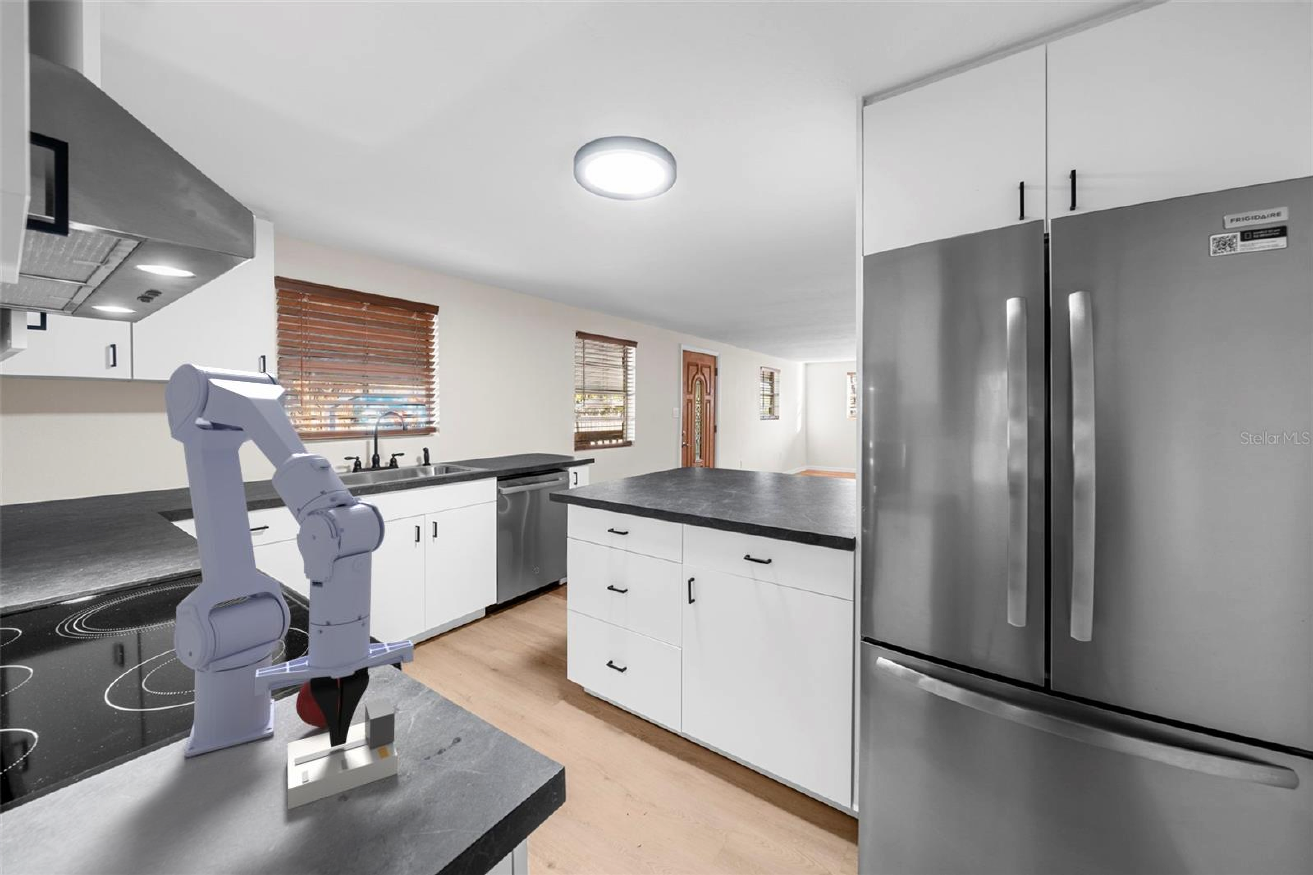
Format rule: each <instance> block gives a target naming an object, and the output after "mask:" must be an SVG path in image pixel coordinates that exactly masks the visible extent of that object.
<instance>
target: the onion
mask: <svg viewBox="0 0 1313 875" xmlns="http://www.w3.org/2000/svg"><path fill="white" fill-rule="evenodd" d="M337 679H338V687H339V678H337ZM295 702H296V703H295V709H296V713H297V715H298V717H299V718H300V719H301V721H303V723H305V724H307V725H309V726H313V727H317V728H320V729H325V728H328V726H327V724H326V721H325V718H324V716H323V714H322V712H321V710H320V708H319V707H318V705H317V704H316V702H315V701H314V699H313V697H312V695H311V689H310V682H306V683H302V685H301V687H300V689H299V691H298V694H297V698H296V701H295ZM338 712H339V704H338Z"/></svg>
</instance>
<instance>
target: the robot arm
mask: <svg viewBox="0 0 1313 875" xmlns="http://www.w3.org/2000/svg"><path fill="white" fill-rule="evenodd" d="M164 398H165V399H164V400H165V401H164V402H165V407H166V414H167V415H166V416H167V420H168V421H167V422H168V426H169V431H170V435H171V438H172V439H173V440H176V441H177V442H180V443H182V444H183V450H184V451H183V452H184V459H185V465H186V473H187V479H188V485H189V493H190V500H191V506H192V514H193V521H194V527H195V535H196V536H195V537H196V542H197V548H198V549H197V550H198V556H199V557H198V558H199V561H200V563H199V564H200V570H201V571H200V572H201V577H202V582H201V583H200V584H198V586H197V587H196V588H195V589H194V590H192V591H191V592H190V593H189V594H188V595H187V596H186V597H185V598H184V599H183V600H181V602H179V604H178V605H176V607H175V608H176V609H175V610H176V612H175V615H176V619H175V620H176V621H175V622H176V624H175V630H174V635H173V646H174V647H173V648H174V650H175V653H176V656H177V658H178V660H179V661H180V662H181V663H182V664H183V665H185V666H186V667H187V668H189V669H191V670H194V704H193V705H194V706H193V707H194V709H193V710H194V711H193V712H194V713H193V714H194V716H193V717H194V718H193V724H192V726H191V730H190V734H189V737H188V740H187V741H188V742H187V744H186V748H185V751H184V756H185V757H186V758H187V757H193V756H196V755H201V754H204V753H205V754H206V753H208V752H212V751H216V750H220V749H224V748H228V747H231V746H236V745H240V744H243V743H248V742H251V741H252V742H253V741H256V740H259V739H263V738H266V737H270V736H272V735H273V734H275V712H276V711H275V705H276V704H275V703H276V702H275V698H272V690H278V689H282V688H287V687H291V686H295V685H300V684H304V683H306V682H310V689H311V695H312V697H313V699H314V701H315V702H316V704H317V705H318V707H319V708H320V710H321V712H322V714H323V716H324V718H325V721H326V724H327V726H328V727H327V729H328V732H329V735H330V744H331V747H335V746H338V745H342V744H345V743H346V740H347V735H348V730H349V727H350V726H351V723H352V720H353V718H354V714H355V712H356V709H357V707H358V704H359V702H361V699H362V697H363V695H364V693H365V692H366V690H367V688H368V686H369V683H370V675H369V669H374V668H379V667H383V666H388V665H392V664H396V663H401V662H402V663H403V664H408V663H412V662H414V647H415V646H414V643H413V642H412V640H411V639H407V640H406V639H405V640H400V641H392V642H391V641H390V642H380V643H379V642H377V643H370V642H371V612H372V611H371V610H372V609H371V607H372V606H371V604H372V603H371V602H372V561H373V560H372V559H373V554H372V553H373V552H375V551H376V550H378V549H379V548H380V547H381V545H383V544H382V543H383V541H384V539H385V535H386V534H385V532H386V527H385V526H386V525H385V521H384V518H383V515H382V514H381V512H380V510H379V507H378V506H377V505H375V504H374V503H372V502H370V501H363V500H362V499H361V498H360V497H357V496H354V495H353V494H352V493H351V492H350V490H349V489H348V488H347V486H346V485H345V484H344V482H343V481H342V479H341V478H340V477H339V475H338V474H337V473H336V471H335V469H334V468H333V467H332V465H331V463H330V461H329V460H328V459H327V458H326V457H324V456H322V455H319V454H316V453H315V454H314V453H313V454H312V453H309V452H308V450H307V448H306V447H305V445H304V443H303V441H302V439H301V437H300V436H299V434H298V433H297V431H296V428H295V427H294V425H293V423H292V422H291V420H290V419H289V416H288V415H287V413H286V411H285V405H286V400H287V399H286V398H287V394H286V390H285V389H284V388H283V387H282V384H281V383H280V381H279V379H278V378H277V377H276V376H275V375H274V374H273V373H270V372H254V371H253V372H252V371H244V370H235V369H234V370H233V369H226V368H225V369H224V368H217V367H208V366H198V365H197V364H192V363H185V364H182V365H180V366H179V367H177V369H175V370H174V372H173V373H172V374H171V376H170V378H169V380H168V383H167V385H166V386H165V391H164ZM248 441H252V442H253V444H255V446H257V449H259V451H260V452H261V453H262V454H263V455H264V457H266V459H268V461H269V462H270V463H271V464H272V466H273V467H274V468H275V471H274V473H273V475H272V477H271V484H272V486H273V488H274V490H275V491H276V492H277V494H278V495H279V497H280V498H281V500H282V501H283V503H284V504H285V506H286V507H287V509H288V511H289V512H290V514H291V515H292V517H293V518H294V520H295V521H296V523H297V524H298V525H299V532H298V533H297V534H296V544H297V549H298V551H299V553H300V555H301V556H302V559H303V574H305V578H306V579H307V580H309V606H308V607H309V608H308V610H309V611H308V613H309V614H308V650H307V652H308V654H307V655H305V656H301V657H297V658H295V659H291V660H289V661H285V662H282V663H279V664H276V665H275V664H274V665H272V659H273V658H272V657H273V652H275V651H277V650H278V649H279V642H280V641H282V640H283V639H284V638H285V637H286V635H287V633H288V631H289V628H290V625H291V613H290V608H289V605H288V604H287V602H286V601H285V598H284V596H283V593H282V591H281V585H280V582H279V581H277V580H275V579H274V578H272V577H269V576H267V575H265V574H263V573H261V572H258V571H257V566H256V559H255V552H254V551H255V550H254V545H253V540H252V532H251V527H250V526H251V525H250V520H249V514H248V513H249V512H248V506H247V499H246V492H245V487H244V480H243V472H242V468H241V460H240V454H239V452H240V448H241V447H242V445H243V444H244V443H246V442H248ZM244 597H247V598H249V599H245V600H241V601H236V602H233V603H230V604H226V605H221V606H217V605H219V604H220V603H224V602H228V601H231V600H236V599H239V598H244ZM215 606H217V607H215ZM214 607H215V608H214ZM337 678H339V687H338V679H337ZM338 704H339V712H338Z"/></svg>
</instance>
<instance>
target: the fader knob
mask: <svg viewBox="0 0 1313 875" xmlns="http://www.w3.org/2000/svg"><path fill="white" fill-rule="evenodd" d="M364 704H365V707H364V709H365V711H364V712H365V717H364V723H365V734H366V737H367V741H368V744H369V748H370V749H371V748H374V747H378V746H381V745H384V744H388V743H391V742H393V743H394V742H395V721H396V720H395V719H396V718H395V716H396V715H395V714H396V712H395V711H394V710H395V709H394V708H393V707H394V706H393V705H392V703H391V700H390V697H387V698H384V699H378V700H374V701H371V702H366V703H364Z"/></svg>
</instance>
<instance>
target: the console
mask: <svg viewBox="0 0 1313 875" xmlns="http://www.w3.org/2000/svg"><path fill="white" fill-rule="evenodd" d="M286 746H287V747H286V748H287V749H286V775H287V776H286V777H287V779H286V780H287V781H286V782H287V787H286V788H287V810H291V809H295V808H298V807H300V806H304V805H307V804H310V803H312V802H315V801H318V800H322V799H325V798H327V797H331V796H333V795H336V794H339V793H343V792H345V791H348V790H351V789H354V788H358V787H360V786H364V785H366V784H370V783H372V782H376V781H379V780H382V779H385V778H388V777H391V776H394V775H397V774H398V763H399V762H398V760H399V758H398V757H399V755H398V752H397V750H396V749H397V748H396V746H395V743H394V742H391V743H388V744H384V745H381V746H378V747H374V748H371V749H370V748H369V744H368V741H367V737H366V734H365V722H361V723H356V724H354V725H350V727H349V730H348V735H347V740H346V743H345V744H342V745H338V746H335V747H331V744H330V735H329V731H328V732H327V731H326V732H325V733H321V734H317V735H313V736H309V737H306V738H303V739H298V740H294V741H291V742H288V743H287V744H286ZM321 798H322V799H321Z"/></svg>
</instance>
